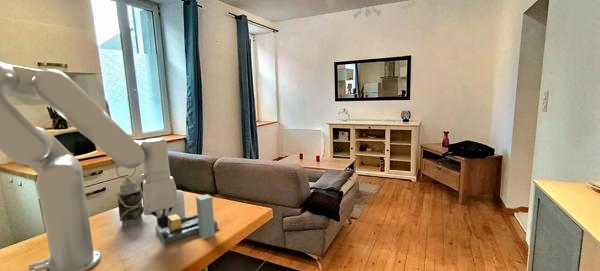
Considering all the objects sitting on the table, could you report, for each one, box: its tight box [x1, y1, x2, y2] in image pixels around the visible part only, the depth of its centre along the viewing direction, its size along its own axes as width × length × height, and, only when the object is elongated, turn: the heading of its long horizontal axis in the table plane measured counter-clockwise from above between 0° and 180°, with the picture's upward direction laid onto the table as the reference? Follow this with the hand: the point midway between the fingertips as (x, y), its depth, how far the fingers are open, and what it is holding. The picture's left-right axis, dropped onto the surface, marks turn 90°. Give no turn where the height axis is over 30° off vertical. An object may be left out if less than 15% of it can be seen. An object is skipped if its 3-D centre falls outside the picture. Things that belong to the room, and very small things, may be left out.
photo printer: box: [155, 189, 186, 226], centre depth 108 cm, size 10×4×12 cm, turn 123°
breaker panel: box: [155, 213, 219, 247], centre depth 100 cm, size 18×12×3 cm, turn 130°
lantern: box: [115, 164, 144, 228], centre depth 106 cm, size 9×8×25 cm
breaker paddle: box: [168, 214, 182, 230], centre depth 97 cm, size 3×5×4 cm, turn 40°
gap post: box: [195, 193, 216, 240], centre depth 96 cm, size 4×4×14 cm
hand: (163, 226), depth 95 cm, fingers closed
